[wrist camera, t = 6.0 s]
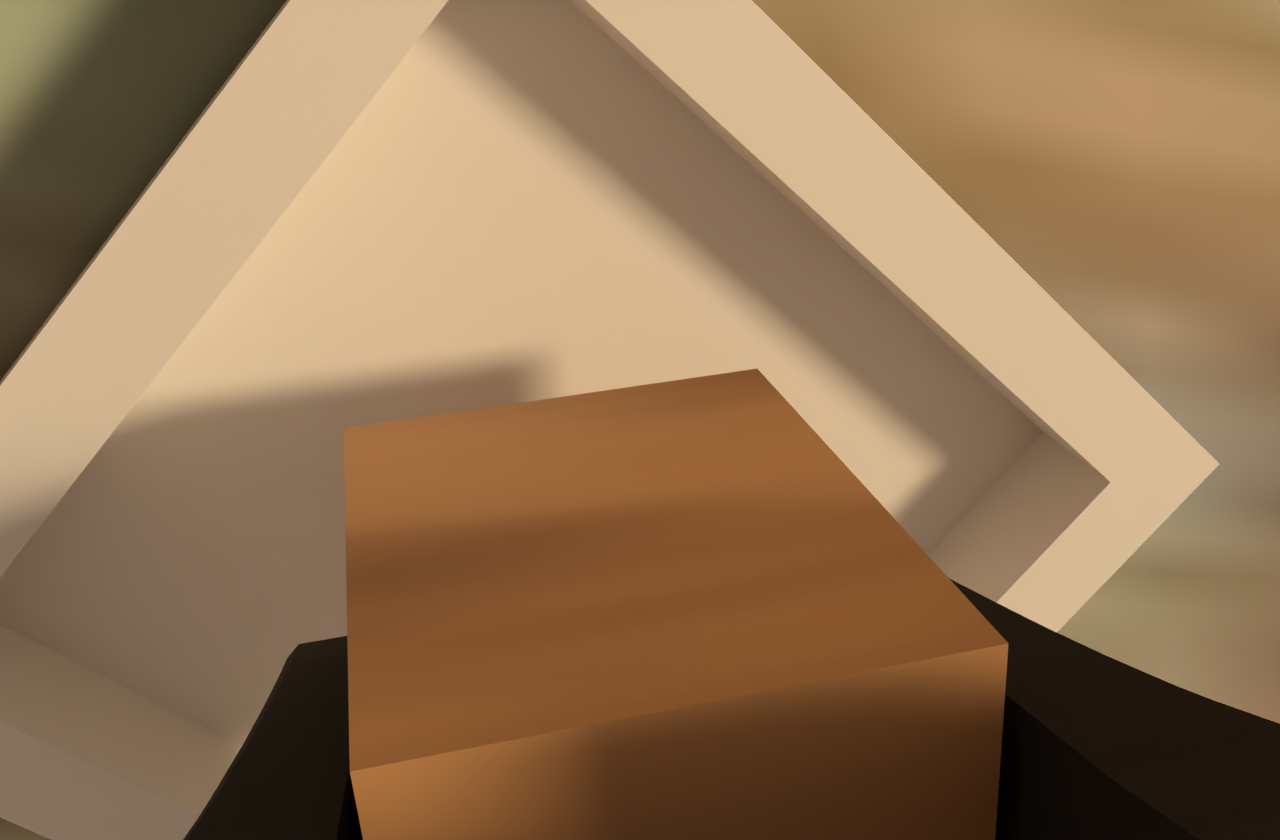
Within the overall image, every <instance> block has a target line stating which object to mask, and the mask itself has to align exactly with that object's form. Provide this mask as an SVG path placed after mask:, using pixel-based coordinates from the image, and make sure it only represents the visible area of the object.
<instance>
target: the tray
mask: <svg viewBox="0 0 1280 840" xmlns="http://www.w3.org/2000/svg"><path fill="white" fill-rule="evenodd" d="M750 369H758V370H759V371H760V372H761V373H762V374H763V375H764V376H765V378H766V379H767V380H768V381H769V382H770V383H771V384H772V385H773V386H774V387H775V388H776V390H777V391H778V392H779V393H780V394H781V395H782V396H783V397H784V398H785V399H786V400H787V402H788V403H789V404H790V405H791V406H792V407H793V408H794V409H795V410H796V411H797V413H798V414H799V415H800V416H801V417H802V418H803V419H804V420H805V421H806V422H807V423H808V425H809V426H810V427H811V428H812V429H813V430H814V431H815V432H816V433H817V434H818V436H819V437H820V438H821V439H822V440H823V441H824V442H825V443H826V444H827V445H828V446H829V448H830V449H831V450H832V451H833V452H834V453H835V454H836V455H837V456H838V457H839V459H840V460H841V461H842V462H843V463H844V464H845V465H846V466H847V467H848V468H849V469H850V471H851V472H852V473H853V474H854V475H855V476H856V477H857V478H858V479H859V480H860V481H861V483H862V484H863V485H864V486H865V487H866V488H867V489H868V490H869V491H870V492H871V494H872V495H873V496H874V497H875V498H876V499H877V500H878V501H879V502H880V503H881V504H882V506H883V507H884V508H885V509H886V510H887V511H888V512H889V513H890V514H891V515H892V517H893V518H894V519H895V520H896V521H897V522H898V523H899V524H900V525H901V526H902V527H903V529H904V530H905V531H906V532H907V533H908V534H909V535H910V536H911V537H912V538H913V540H914V541H915V542H916V543H917V544H918V545H919V546H920V547H921V548H922V549H923V550H924V552H925V553H926V554H927V555H928V556H929V557H930V558H931V559H932V560H933V561H934V563H935V564H936V565H937V566H938V567H939V568H940V569H941V570H942V571H943V572H944V573H945V575H946V576H947V577H948V578H950V579H952V580H954V581H955V582H957V583H959V584H961V585H963V586H965V587H967V588H969V589H971V590H973V591H975V592H977V593H979V594H981V595H983V596H985V597H987V598H988V599H990V600H992V601H994V602H996V603H998V604H1000V605H1002V606H1004V607H1006V608H1008V609H1010V610H1012V611H1014V612H1016V613H1018V614H1020V615H1022V616H1024V617H1026V618H1028V619H1030V620H1032V621H1034V622H1036V623H1038V624H1040V625H1042V626H1044V627H1046V628H1048V629H1050V630H1052V631H1054V632H1056V633H1057V632H1058V631H1059V630H1060V629H1061V627H1062V626H1063V625H1064V624H1065V623H1066V622H1067V621H1068V620H1069V619H1070V618H1071V617H1072V616H1073V615H1074V614H1075V613H1076V612H1077V611H1078V610H1079V609H1080V608H1081V607H1082V606H1083V605H1084V604H1085V603H1086V602H1087V601H1088V600H1089V598H1090V597H1091V596H1092V595H1093V594H1094V593H1095V592H1096V591H1097V590H1098V589H1099V588H1100V587H1101V586H1102V585H1103V584H1104V583H1105V582H1106V581H1107V580H1108V579H1109V578H1110V577H1111V576H1112V575H1113V574H1114V573H1115V572H1116V571H1117V569H1118V568H1119V567H1120V566H1121V565H1122V564H1123V563H1124V562H1125V561H1126V560H1127V559H1128V558H1129V557H1130V556H1131V555H1132V554H1133V553H1134V552H1135V551H1136V550H1137V549H1138V548H1139V547H1140V546H1141V545H1142V544H1143V543H1144V542H1145V540H1146V539H1147V538H1148V537H1149V536H1150V535H1151V534H1152V533H1153V532H1154V531H1155V530H1156V529H1157V528H1158V527H1159V526H1160V525H1161V524H1162V523H1163V522H1164V521H1165V520H1166V519H1167V518H1168V517H1169V516H1170V515H1171V514H1172V513H1173V511H1174V510H1175V509H1176V508H1177V507H1178V506H1179V505H1180V504H1181V503H1182V502H1183V501H1184V500H1185V499H1186V498H1187V497H1188V496H1189V495H1190V494H1191V493H1192V492H1193V491H1194V490H1195V489H1196V488H1197V487H1198V486H1199V485H1200V484H1201V482H1202V481H1203V480H1204V479H1205V478H1206V477H1207V476H1208V475H1209V474H1210V473H1211V472H1212V471H1213V470H1214V469H1215V468H1216V467H1217V466H1218V465H1219V463H1218V462H1217V461H1216V460H1215V459H1214V458H1213V457H1212V456H1211V455H1210V454H1209V453H1208V452H1207V451H1206V450H1205V449H1204V448H1203V447H1202V446H1201V445H1200V444H1199V443H1198V442H1197V441H1196V440H1195V439H1194V438H1193V437H1192V436H1191V435H1190V434H1189V433H1188V432H1187V431H1186V430H1185V429H1184V428H1183V427H1182V426H1181V425H1180V424H1179V423H1178V422H1177V421H1176V420H1175V419H1174V418H1173V417H1172V416H1170V415H1169V414H1168V413H1167V412H1166V411H1165V410H1164V409H1163V408H1162V407H1161V406H1160V405H1159V404H1158V403H1157V402H1156V401H1155V400H1154V399H1153V398H1152V397H1151V396H1150V395H1149V394H1148V393H1147V392H1146V391H1145V390H1144V389H1143V388H1142V387H1141V386H1140V385H1139V384H1138V383H1137V382H1136V381H1135V380H1134V379H1133V378H1132V377H1131V376H1130V375H1129V374H1128V373H1127V372H1126V371H1125V370H1124V369H1123V368H1122V367H1121V366H1120V365H1119V364H1118V363H1117V362H1116V361H1115V360H1114V359H1113V358H1112V357H1111V356H1110V355H1109V354H1108V353H1107V352H1106V351H1105V350H1104V349H1103V348H1102V347H1101V346H1100V345H1099V344H1098V343H1097V342H1096V341H1095V340H1094V339H1093V338H1092V337H1091V336H1090V335H1089V334H1088V333H1087V332H1086V331H1085V330H1084V329H1083V328H1082V327H1081V326H1080V325H1079V324H1078V323H1077V322H1076V321H1075V320H1074V319H1073V318H1072V317H1071V316H1070V315H1069V314H1068V313H1067V312H1066V311H1065V310H1064V309H1063V308H1062V307H1061V306H1060V305H1059V304H1058V303H1057V302H1056V301H1055V300H1054V299H1052V298H1051V297H1050V296H1049V295H1048V294H1047V293H1046V292H1045V291H1044V290H1043V289H1042V288H1041V287H1040V286H1039V285H1038V284H1037V283H1036V282H1035V281H1034V280H1033V279H1032V278H1031V277H1030V276H1029V275H1028V274H1027V273H1026V272H1025V271H1024V270H1023V269H1022V268H1021V267H1020V266H1019V265H1018V264H1017V263H1016V262H1015V261H1014V260H1013V259H1012V258H1011V257H1010V256H1009V255H1008V254H1007V253H1006V252H1005V251H1004V250H1003V249H1002V248H1001V247H1000V246H999V245H998V244H997V243H996V242H995V241H994V240H993V239H992V238H991V237H990V236H989V235H988V234H987V233H986V232H985V231H984V230H983V229H982V228H981V227H980V226H979V225H978V224H977V223H976V222H975V221H974V220H973V219H972V218H971V217H970V216H969V215H968V214H967V213H966V212H965V211H964V210H963V209H962V208H961V207H960V206H959V205H958V204H957V203H956V202H955V201H954V200H953V199H952V198H951V197H950V196H949V195H948V194H947V193H946V192H945V191H944V190H943V189H942V188H941V187H940V186H939V185H938V184H937V183H936V182H935V181H933V180H932V179H931V178H930V177H929V176H928V175H927V174H926V173H925V172H924V171H923V170H922V169H921V168H920V167H919V166H918V165H917V164H916V163H915V162H914V161H913V160H912V159H911V158H910V157H909V156H908V155H907V154H906V153H905V152H904V151H903V150H902V149H901V148H900V147H899V146H898V145H897V144H896V143H895V142H894V141H893V140H892V139H891V138H890V137H889V136H888V135H887V134H886V133H885V132H884V131H883V130H882V129H881V128H880V127H879V126H878V125H877V124H876V123H875V122H874V121H873V120H872V119H871V118H870V117H869V116H868V115H867V114H866V113H865V112H864V111H863V110H862V109H861V108H860V107H859V106H858V105H857V104H856V103H855V102H854V101H853V100H852V99H851V98H850V97H849V96H848V95H847V94H846V93H845V92H844V91H843V90H842V89H841V88H840V87H839V86H838V85H837V84H836V83H835V82H834V81H833V80H832V79H831V78H830V77H829V76H828V75H827V74H826V73H825V72H824V71H823V70H822V69H821V68H820V67H819V66H818V65H817V64H815V63H814V62H813V61H812V60H811V59H810V58H809V57H808V56H807V55H806V54H805V53H804V52H803V51H802V50H801V49H800V48H799V47H798V46H797V45H796V44H795V43H794V42H793V41H792V40H791V39H790V38H789V37H788V36H787V35H786V34H785V33H784V32H783V31H782V30H781V29H780V28H779V27H778V26H777V25H776V24H775V23H774V22H773V21H772V20H771V19H770V18H769V17H768V16H767V15H766V14H765V13H764V12H763V11H762V10H761V9H760V8H759V7H758V6H757V5H756V4H755V3H754V2H753V1H752V0H286V1H285V3H284V4H283V5H282V7H281V8H280V9H279V11H278V12H277V13H276V15H275V16H274V17H273V19H272V20H271V21H270V23H269V24H268V25H267V27H266V28H265V29H264V31H263V32H262V33H261V35H260V36H259V37H258V39H257V40H256V41H255V43H254V44H253V45H252V47H251V48H250V49H249V51H248V52H247V53H246V55H245V56H244V57H243V59H242V60H241V61H240V63H239V64H238V65H237V67H236V68H235V69H234V71H233V72H232V73H231V75H230V76H229V77H228V79H227V80H226V81H225V83H224V84H223V85H222V87H221V88H220V89H219V91H218V92H217V93H216V95H215V96H214V97H213V99H212V100H211V101H210V103H209V104H208V105H207V107H206V108H205V109H204V111H203V112H202V113H201V115H200V116H199V117H198V119H197V120H196V121H195V122H194V124H193V125H192V126H191V128H190V129H189V130H188V132H187V133H186V134H185V136H184V137H183V138H182V140H181V141H180V142H179V144H178V145H177V146H176V148H175V149H174V150H173V152H172V153H171V154H170V156H169V157H168V158H167V160H166V161H165V162H164V164H163V165H162V166H161V168H160V169H159V170H158V172H157V173H156V174H155V176H154V177H153V178H152V180H151V181H150V182H149V184H148V185H147V186H146V188H145V189H144V190H143V192H142V193H141V194H140V196H139V197H138V198H137V200H136V201H135V202H134V204H133V205H132V206H131V208H130V209H129V210H128V212H127V213H126V214H125V216H124V217H123V218H122V220H121V221H120V222H119V224H118V225H117V226H116V228H115V229H114V230H113V232H112V233H111V234H110V236H109V237H108V238H107V240H106V241H105V242H104V244H103V245H102V246H101V248H100V249H99V250H98V252H97V253H96V254H95V255H94V257H93V258H92V259H91V261H90V262H89V263H88V265H87V266H86V267H85V269H84V270H83V271H82V273H81V274H80V275H79V277H78V278H77V279H76V281H75V282H74V283H73V285H72V286H71V287H70V289H69V290H68V291H67V293H66V294H65V295H64V297H63V298H62V299H61V301H60V302H59V303H58V305H57V306H56V307H55V309H54V310H53V311H52V313H51V314H50V315H49V317H48V318H47V319H46V321H45V322H44V323H43V325H42V326H41V327H40V329H39V330H38V331H37V333H36V334H35V335H34V337H33V338H32V339H31V341H30V342H29V343H28V345H27V346H26V347H25V349H24V350H23V351H22V353H21V354H20V355H19V357H18V358H17V359H16V361H15V362H14V363H13V365H12V366H11V367H10V369H9V370H8V371H7V373H6V374H5V375H4V377H3V378H2V379H1V381H0V818H2V819H5V820H7V821H9V822H11V823H14V824H16V825H18V826H21V827H23V828H25V829H27V830H30V831H32V832H34V833H37V834H39V835H41V836H43V837H46V838H48V839H50V840H183V839H184V838H185V836H186V835H187V833H188V832H189V830H190V829H191V827H192V826H193V825H194V823H195V822H196V820H197V819H198V817H199V816H200V814H201V813H202V811H203V810H204V808H205V806H206V805H207V803H208V802H209V800H210V798H211V797H212V795H213V793H214V792H215V790H216V788H217V787H218V785H219V783H220V782H221V780H222V778H223V777H224V775H225V773H226V772H227V770H228V769H229V767H230V765H231V764H232V762H233V760H234V759H235V757H236V755H237V754H238V752H239V750H240V749H241V747H242V745H243V743H244V742H245V740H246V738H247V736H248V734H249V733H250V731H251V729H252V727H253V725H254V723H255V722H256V720H257V718H258V716H259V714H260V713H261V711H262V709H263V707H264V705H265V703H266V701H267V699H268V697H269V695H270V693H271V691H272V689H273V687H274V685H275V683H276V681H277V679H278V677H279V675H280V673H281V671H282V668H283V666H284V664H285V662H286V660H287V658H288V656H289V655H290V654H291V653H292V652H293V650H294V649H295V648H296V647H297V645H298V644H302V643H308V642H313V641H319V640H325V639H331V638H337V637H343V636H347V589H346V532H345V476H344V428H349V427H356V426H363V425H370V424H376V423H383V422H390V421H397V420H404V419H411V418H418V417H425V416H432V415H439V414H446V413H453V412H460V411H466V410H473V409H480V408H487V407H494V406H501V405H508V404H515V403H522V402H529V401H536V400H543V399H550V398H557V397H563V396H570V395H577V394H584V393H591V392H598V391H605V390H612V389H619V388H626V387H633V386H640V385H647V384H653V383H660V382H667V381H674V380H681V379H688V378H695V377H702V376H709V375H716V374H723V373H730V372H737V371H743V370H750Z"/></svg>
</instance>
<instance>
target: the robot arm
mask: <svg viewBox="0 0 1280 840" xmlns="http://www.w3.org/2000/svg"><path fill="white" fill-rule="evenodd" d="M949 579H950V578H949ZM950 580H951V581H952V582H953V583H954V584H955V585H956V587H957V588H958V589H959V590H960V591H961V592H962V593H963V594H964V595H965V596H966V598H967V599H968V600H969V601H970V602H971V603H972V604H973V605H974V606H975V607H976V608H977V610H978V611H979V612H980V613H981V614H982V615H983V616H984V617H985V618H986V619H987V621H988V622H989V623H990V624H991V625H992V626H993V627H994V628H995V629H996V630H997V631H998V633H999V634H1000V635H1001V636H1002V637H1003V638H1004V639H1005V640H1006V641H1007V642H1008V659H1007V673H1006V688H1005V703H1004V717H1003V732H1002V747H1001V761H1000V776H999V791H998V805H997V820H996V835H995V840H1280V724H1279V723H1276V722H1273V721H1270V720H1267V719H1264V718H1261V717H1259V716H1256V715H1253V714H1250V713H1247V712H1244V711H1242V710H1239V709H1236V708H1233V707H1230V706H1227V705H1225V704H1222V703H1219V702H1216V701H1213V700H1211V699H1208V698H1206V697H1203V696H1200V695H1198V694H1195V693H1193V692H1190V691H1188V690H1185V689H1183V688H1180V687H1178V686H1175V685H1173V684H1170V683H1168V682H1166V681H1163V680H1161V679H1159V678H1156V677H1154V676H1152V675H1149V674H1147V673H1145V672H1142V671H1140V670H1138V669H1135V668H1133V667H1131V666H1129V665H1126V664H1124V663H1122V662H1119V661H1117V660H1115V659H1112V658H1110V657H1108V656H1105V655H1103V654H1101V653H1099V652H1097V651H1095V650H1092V649H1090V648H1088V647H1086V646H1084V645H1082V644H1080V643H1077V642H1075V641H1073V640H1071V639H1069V638H1067V637H1065V636H1063V635H1061V634H1059V633H1056V632H1054V631H1052V630H1050V629H1048V628H1046V627H1044V626H1042V625H1040V624H1038V623H1036V622H1034V621H1032V620H1030V619H1028V618H1026V617H1024V616H1022V615H1020V614H1018V613H1016V612H1014V611H1012V610H1010V609H1008V608H1006V607H1004V606H1002V605H1000V604H998V603H996V602H994V601H992V600H990V599H988V598H987V597H985V596H983V595H981V594H979V593H977V592H975V591H973V590H971V589H969V588H967V587H965V586H963V585H961V584H959V583H957V582H955V581H954V580H952V579H950ZM183 840H363V837H362V832H361V826H360V821H359V816H358V811H357V806H356V801H355V796H354V791H353V786H352V781H351V776H350V758H349V701H348V645H347V636H343V637H337V638H331V639H325V640H319V641H313V642H308V643H302V644H298V645H297V647H296V648H295V649H294V650H293V652H292V653H291V654H290V655H289V656H288V658H287V660H286V662H285V664H284V666H283V668H282V671H281V673H280V675H279V677H278V679H277V681H276V683H275V685H274V687H273V689H272V691H271V693H270V695H269V697H268V699H267V701H266V703H265V705H264V707H263V709H262V711H261V713H260V714H259V716H258V718H257V720H256V722H255V723H254V725H253V727H252V729H251V731H250V733H249V734H248V736H247V738H246V740H245V742H244V743H243V745H242V747H241V749H240V750H239V752H238V754H237V755H236V757H235V759H234V760H233V762H232V764H231V765H230V767H229V769H228V770H227V772H226V773H225V775H224V777H223V778H222V780H221V782H220V783H219V785H218V787H217V788H216V790H215V792H214V793H213V795H212V797H211V798H210V800H209V802H208V803H207V805H206V806H205V808H204V810H203V811H202V813H201V814H200V816H199V817H198V819H197V820H196V822H195V823H194V825H193V826H192V827H191V829H190V830H189V832H188V833H187V835H186V836H185V838H184V839H183Z"/></svg>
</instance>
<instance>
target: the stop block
mask: <svg viewBox="0 0 1280 840" xmlns="http://www.w3.org/2000/svg"><path fill="white" fill-rule="evenodd" d="M344 476H345V532H346V589H347V645H348V701H349V758H350V776H351V781H352V786H353V791H354V796H355V801H356V806H357V811H358V816H359V821H360V826H361V832H362V837H363V840H995V835H996V820H997V805H998V791H999V776H1000V761H1001V747H1002V732H1003V717H1004V703H1005V688H1006V673H1007V659H1008V642H1007V641H1006V640H1005V639H1004V638H1003V637H1002V636H1001V635H1000V634H999V633H998V631H997V630H996V629H995V628H994V627H993V626H992V625H991V624H990V623H989V622H988V621H987V619H986V618H985V617H984V616H983V615H982V614H981V613H980V612H979V611H978V610H977V608H976V607H975V606H974V605H973V604H972V603H971V602H970V601H969V600H968V599H967V598H966V596H965V595H964V594H963V593H962V592H961V591H960V590H959V589H958V588H957V587H956V585H955V584H954V583H953V582H952V581H951V580H950V579H949V578H948V577H947V576H946V575H945V573H944V572H943V571H942V570H941V569H940V568H939V567H938V566H937V565H936V564H935V563H934V561H933V560H932V559H931V558H930V557H929V556H928V555H927V554H926V553H925V552H924V550H923V549H922V548H921V547H920V546H919V545H918V544H917V543H916V542H915V541H914V540H913V538H912V537H911V536H910V535H909V534H908V533H907V532H906V531H905V530H904V529H903V527H902V526H901V525H900V524H899V523H898V522H897V521H896V520H895V519H894V518H893V517H892V515H891V514H890V513H889V512H888V511H887V510H886V509H885V508H884V507H883V506H882V504H881V503H880V502H879V501H878V500H877V499H876V498H875V497H874V496H873V495H872V494H871V492H870V491H869V490H868V489H867V488H866V487H865V486H864V485H863V484H862V483H861V481H860V480H859V479H858V478H857V477H856V476H855V475H854V474H853V473H852V472H851V471H850V469H849V468H848V467H847V466H846V465H845V464H844V463H843V462H842V461H841V460H840V459H839V457H838V456H837V455H836V454H835V453H834V452H833V451H832V450H831V449H830V448H829V446H828V445H827V444H826V443H825V442H824V441H823V440H822V439H821V438H820V437H819V436H818V434H817V433H816V432H815V431H814V430H813V429H812V428H811V427H810V426H809V425H808V423H807V422H806V421H805V420H804V419H803V418H802V417H801V416H800V415H799V414H798V413H797V411H796V410H795V409H794V408H793V407H792V406H791V405H790V404H789V403H788V402H787V400H786V399H785V398H784V397H783V396H782V395H781V394H780V393H779V392H778V391H777V390H776V388H775V387H774V386H773V385H772V384H771V383H770V382H769V381H768V380H767V379H766V378H765V376H764V375H763V374H762V373H761V372H760V371H759V370H758V369H750V370H743V371H737V372H730V373H723V374H716V375H709V376H702V377H695V378H688V379H681V380H674V381H667V382H660V383H653V384H647V385H640V386H633V387H626V388H619V389H612V390H605V391H598V392H591V393H584V394H577V395H570V396H563V397H557V398H550V399H543V400H536V401H529V402H522V403H515V404H508V405H501V406H494V407H487V408H480V409H473V410H466V411H460V412H453V413H446V414H439V415H432V416H425V417H418V418H411V419H404V420H397V421H390V422H383V423H376V424H370V425H363V426H356V427H349V428H344Z"/></svg>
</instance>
